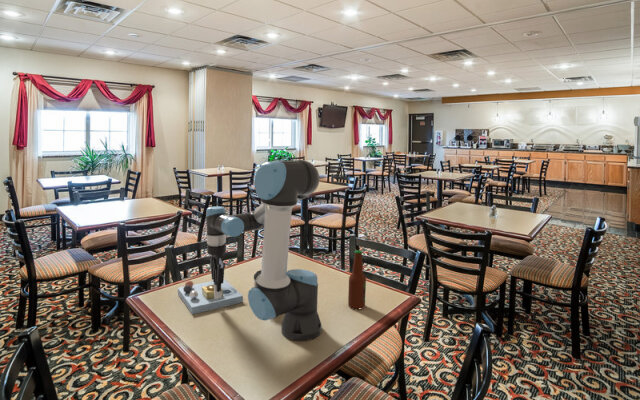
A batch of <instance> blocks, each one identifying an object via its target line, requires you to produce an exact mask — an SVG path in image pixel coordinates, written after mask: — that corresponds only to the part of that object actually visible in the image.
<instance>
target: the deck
mask: <svg viewBox="0 0 640 400" xmlns="http://www.w3.org/2000/svg"><path fill="white" fill-rule="evenodd" d="M209 285H214V282H213V280H211V281H210V280H209V281H206V282H201V283H196V284H193V286H192V290H191V292H192V291H197V293H198V297H197V298H196V299H191V298H190V293H191V292H189V293H185V292H184V290H183V289H184V287H185V285H184V286H180V287H177V295H178V296H179V298H180V299H181V300H182V302H183V304H184V305H185V306H186V307H187V309H188V310H189V312H190V313H191V315H196V314H200V313H203V312H208V311H211V310H212V311H213V310H217V309H220V308H225V307H229V306H232V305H237V304H241V303H244V296H243V294H241V292H239V291H238V290H237V289H236V288H235V287H234V286H233V285H232V284H230V283H229V282H228V281H227V280H226V279H225V278H224V280H223V283H222V284H221V288H222V289H223V296H222V298H218V299H215V298H210V299H206V298H205V296H204V295H203V294H202V287H205V286H209Z"/></svg>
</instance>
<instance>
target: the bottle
mask: <svg viewBox="0 0 640 400" xmlns="http://www.w3.org/2000/svg"><path fill="white" fill-rule="evenodd" d="M362 257H363V251H362V250H360V249H356V250H354V259H353V264H352V273H350V275H349V277H348V295H347V297H348V299H347V305H348V308H350V307H351V308H350V309H352V308H355V309H359V308H363V307H364V306H366V289H367V288H366V287H367V286H366V284H367V278H366V276H365V274H364V265H363V258H362ZM364 308H365V307H364ZM364 308H363V309H364ZM355 309H354V310H355Z"/></svg>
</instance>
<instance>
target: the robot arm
mask: <svg viewBox="0 0 640 400" xmlns="http://www.w3.org/2000/svg"><path fill="white" fill-rule="evenodd" d="M320 180H321V179H320V173H319V171H318V169H317V167H316V166H315V165H314V164H312V163H311V162H310V161H307V160H303V159H301V160H299V159H297V160H273V161H266V162H264V163H262V164H261V165H260V166H259V167H258V169H257V170H256V172H255V174H254V180H253V181H254V184H253V186H254V189H255V193H256V195H257V197H259V198H260V202H261V204H260V205H259V206H258V207H257V208H255V209H254V210H253V211H249V212H244V213H238V214H232V215H231V214H230V215H229V214H226V208H225V207H224V206H219V205H218V206H210V207H207V208H206V212H205V215H206V216H205V221H206V225H205V226H206V244H207V246H206V249H207V251H206V253H207V254H208V255H209V257H208V260H209V264H210V273H211V275H210V276H211V281H213V282H214V298H215V299H218V298H222V292H221V284H222V283H223V280H224V279H225V278H224V276H225V266H226V263H224V258H223V255H224V254H226V252H227V244H226V242H227V240H226V239H227V237H228V236H229V237H231V238H232V237H233V238H235V237H238V236H240V235H241V234H243V233H248V232H252V231H258V230H260V231H261V230H263V237H262V238H263V241H262V254H261V255H262V257H261V269H260V270H261V274H260V275H259V276H258V277H257V278H256V287H254V286H253V287H252V288H250V290H248V293H247V301H248V304H249V308H250V309H251V312H253V314H254V315H255V317H256V318H257V319H259V320H260V321H269V320H273V319H275V318H277V317H280V316H282V315H284V316H283V319H282V322H281V333H282V336H283V337H285V338H287V339H289V340H293V341H298V342H300V341H301V342H303V341H311V340H314V339H315V338H316V339H317V337H319V336H320V335H321V334H322V328H323V327H322V322H321V319H320V316H319V312H318V290H319V283H318V282H319V281H318V275H317V274H316V273H315V272H313V271H311V270H306V269H301V268H296V269H294V268H293V269H289V270H288V261H289V249H290V236H291V224H292V211H293V208H294V207H296V206H297V204H298V201H299V200H304V199H306V198H308V197H310V196H311V195H312V194H313V193H314V192H315V191H316V190H317V189H318V187H319V184H320Z"/></svg>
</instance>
